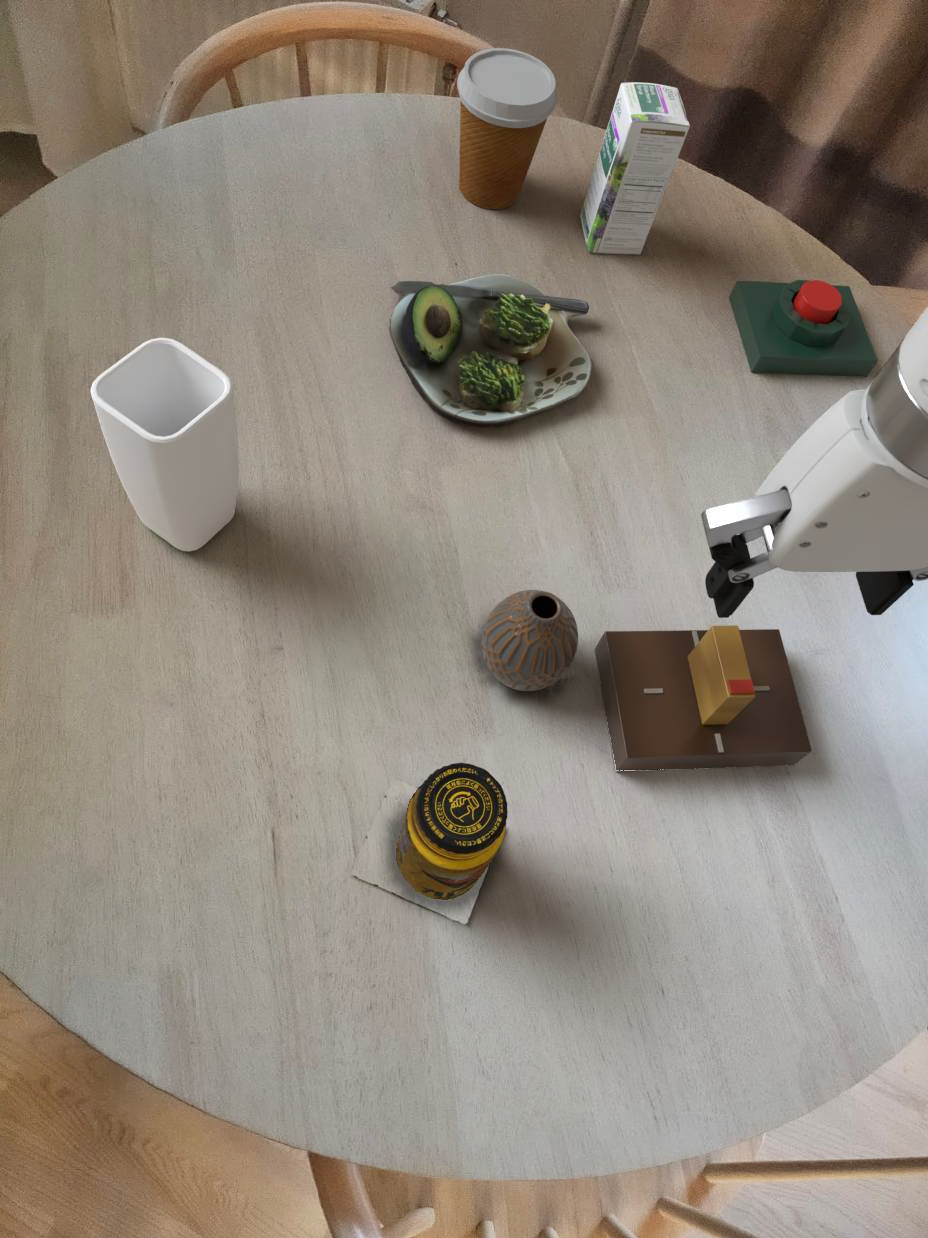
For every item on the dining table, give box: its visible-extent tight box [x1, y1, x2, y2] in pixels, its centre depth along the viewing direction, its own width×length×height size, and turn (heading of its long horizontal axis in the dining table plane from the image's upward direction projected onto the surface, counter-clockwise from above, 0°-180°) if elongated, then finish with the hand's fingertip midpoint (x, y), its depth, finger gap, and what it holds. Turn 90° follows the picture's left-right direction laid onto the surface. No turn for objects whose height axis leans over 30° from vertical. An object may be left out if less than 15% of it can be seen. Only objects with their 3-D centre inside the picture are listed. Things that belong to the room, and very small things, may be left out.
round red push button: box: [793, 279, 842, 324], centre depth 90 cm, size 4×4×2 cm
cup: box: [89, 337, 240, 552], centre depth 67 cm, size 7×7×15 cm
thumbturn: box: [688, 624, 755, 725], centre depth 67 cm, size 6×2×5 cm, turn 5°
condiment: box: [396, 762, 509, 900], centre depth 59 cm, size 7×8×12 cm
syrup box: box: [579, 81, 691, 255], centre depth 90 cm, size 6×6×14 cm
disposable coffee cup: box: [456, 47, 559, 210], centre depth 92 cm, size 10×10×12 cm
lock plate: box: [594, 628, 813, 771], centre depth 71 cm, size 14×10×3 cm
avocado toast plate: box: [388, 273, 593, 428], centre depth 85 cm, size 19×18×5 cm
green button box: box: [728, 279, 879, 378], centre depth 92 cm, size 12×10×4 cm
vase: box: [481, 589, 579, 692], centre depth 68 cm, size 7×7×9 cm
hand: (793, 595), depth 58 cm, fingers open, 9 cm apart
